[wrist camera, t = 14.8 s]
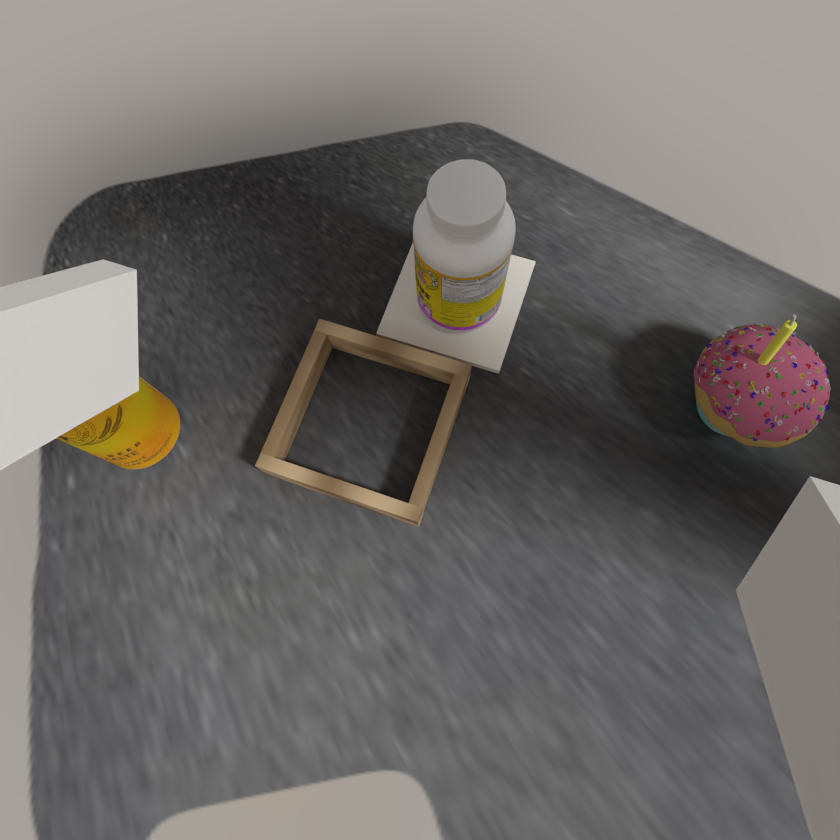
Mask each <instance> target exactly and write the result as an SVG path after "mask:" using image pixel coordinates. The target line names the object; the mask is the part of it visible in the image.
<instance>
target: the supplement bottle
mask: <svg viewBox="0 0 840 840" xmlns="http://www.w3.org/2000/svg"><path fill="white" fill-rule="evenodd" d="M514 238H515V219H514V216H513V213H512V210H511V208H510V206H509V205H508V203H507V202H506V188H505V184H504V181H503V179H502V177H501V176H500V174H499V173H498V172H497V171H496V170H495V169H494V168H492V167H491V166H489V165H488V164H486V163H483V162H481V161H477V160H470V159H465V160H457V161H453V162H450V163H448V164H446V165H444V166H442V167H441V168H439V169H438V170H437V171H436V172H435V173H434V174H433V176H432V177H431V179H430V181H429V183H428V187H427V197H426V198H425V199H424V200H423V202H422V203H421V205H420V206H419V208H418V210H417V212H416V215H415V218H414V222H413V244H414V260H415V278H416V291H417V300H418V304H419V307H420V310H421V312H422V313H423V315H424V316H425V317H426V319H427V320H428V321H429V322H430V323H432V324H433V325H434V326H436V327H437V328H439V329H441V330H444V331H447V332H451V333H467V332H472V331H475V330H477V329H480V328H481V327H483V326H485V325H486V324H487V323H489V322H490V321H491V320H492V318H493V317H494V316H495V315H496V313H497V311H498V309H499V307H500V304H501V300H502V296H503V291H504V286H505V281H506V276H507V272H508V267H509V262H510V257H511V253H512V248H513V244H514Z"/></svg>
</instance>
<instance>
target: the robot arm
mask: <svg viewBox="0 0 840 840" xmlns="http://www.w3.org/2000/svg"><path fill="white" fill-rule="evenodd" d="M137 391H139V368H138V313H137V270H136V269H132V268H129V267H126V266H123V265H119V264H116V263H113V262H110V261H106V260H100V261H96V262H92V263H88V264H85V265H81V266H77V267H73V268H70V269H66V270H62V271H58V272H55V273H51V274H47V275H43V276H40V277H36V278H32V279H29V280H25V281H21V282H17V283H14V284H10V285H6V286H2V287H0V470H1V469H3V468H5V467H7V466H8V465H10V464H12V463H13V462H15V461H17V460H19V459H20V458H22V457H24V456H26V455H27V454H29V453H31V452H33V451H34V450H36V449H38V448H40V447H41V446H43V445H45V444H47V443H48V442H50V441H52V440H54V439H55V438H57V437H59V436H61V435H62V434H64V433H66V432H67V431H69V430H71V429H73V428H74V427H76V426H78V425H80V424H81V423H83V422H85V421H87V420H88V419H90V418H92V417H94V416H95V415H97V414H99V413H100V412H102V411H104V410H106V409H107V408H109V407H111V406H113V405H114V404H116V403H118V402H120V401H121V400H123V399H125V398H127V397H128V396H130V395H132V394H133V393H135V392H137ZM736 593H737V596H738V599H739V603H740V606H741V609H742V613H743V616H744V619H745V622H746V626H747V629H748V632H749V635H750V639H751V642H752V645H753V649H754V652H755V655H756V658H757V662H758V665H759V668H760V671H761V675H762V678H763V681H764V685H765V688H766V691H767V694H768V698H769V701H770V704H771V708H772V711H773V714H774V717H775V721H776V724H777V727H778V730H779V734H780V737H781V740H782V744H783V747H784V750H785V753H786V757H787V760H788V763H789V766H790V770H791V773H792V776H793V780H794V783H795V786H796V789H797V793H798V796H799V799H800V802H801V806H802V809H803V812H804V816H805V819H806V822H807V825H808V829H809V832H810V835H811V838H812V840H840V485H837V484H834V483H831V482H828V481H824V480H821V479H818V478H814V477H811V476H809V478H808V479H807V481H806V483H805V484H804V486H803V487H802V489H801V490H800V492H799V493H798V495H797V497H796V498H795V500H794V501H793V503H792V504H791V506H790V507H789V509H788V510H787V512H786V514H785V515H784V517H783V518H782V520H781V521H780V523H779V524H778V526H777V528H776V529H775V531H774V532H773V534H772V535H771V537H770V538H769V540H768V542H767V543H766V545H765V546H764V548H763V549H762V551H761V552H760V554H759V555H758V557H757V559H756V560H755V562H754V563H753V565H752V566H751V568H750V569H749V571H748V573H747V574H746V576H745V577H744V579H743V580H742V582H741V583H740V585H739V587H738V588H737V590H736Z"/></svg>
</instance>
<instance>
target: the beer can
mask: <svg viewBox="0 0 840 840" xmlns="http://www.w3.org/2000/svg"><path fill="white" fill-rule="evenodd" d="M179 431H180V417H179V414H178V411H177V409H176V407H175V405H174V404H173V403H172V402H171V401H170V400H169V399H168V398H167V397H166V396H164V395H163V394H162V393H160V392H159V391H158V390H157V389H155V388H154V387H153V386H151V385H150V384H149V383H148V382H146V381H145V380H144V379H142V378H141V377H140V376H139V391H137V392H135V393H133V394H132V395H130V396H128V397H127V398H125V399H123V400H121V401H120V402H118V403H116V404H114V405H113V406H111V407H109V408H107V409H106V410H104V411H102V412H100V413H99V414H97V415H95V416H94V417H92V418H90V419H88V420H87V421H85V422H83V423H81V424H80V425H78V426H76V427H74V428H73V429H71V430H69V431H67V432H66V433H64V434H62V435H61V436H59V437H57V439H59V440H61V441H63V442H65V443H68V444H70V445H72V446H74V447H77V448H79V449H81V450H83V451H86V452H88V453H90V454H92V455H95V456H97V457H99V458H101V459H103V460H106V461H108V462H110V463H112V464H115V465H117V466H119V467H122V468H126V469H141V468H145V467H148V466H151V465H153V464H155V463H157V462H159V461H160V460H161V459H163V458H164V457H165V456H166V455H167V454H168V453H169V452H170V451H171V449H172V448H173V446H174V445H175V443H176V441H177V438H178V435H179Z"/></svg>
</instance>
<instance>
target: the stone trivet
mask: <svg viewBox="0 0 840 840" xmlns="http://www.w3.org/2000/svg"><path fill="white" fill-rule="evenodd" d="M535 262H536V261H532V260H529V259H525V258H522V257H518V256H514V255H511V257H510V262H509V267H508V272H507V276H506V281H505V286H504V291H503V296H502V300H501V304H500V307H499V309H498V311H497V313H496V315H495V316H494V317H493V318H492V320H491V321H490V322H489V323H487V324H486V325H485V326H483V327H481V328H480V329H477V330H475V331H472V332H467V333H451V332H447V331H444V330H441V329H439V328H437V327H436V326H434V325H433V324H432V323H430V322H429V321H428V320H427V319H426V317H425V316H424V315H423V313H422V312H421V310H420V307H419V304H418V300H417V291H416V278H415V260H414V244H413V243H412V246H411V248H410V251H409V253H408V256H407V258H406V261H405V263H404V266H403V268H402V271H401V273H400V276H399V278H398V281H397V283H396V286H395V288H394V291H393V293H392V295H391V298H390V300H389V303H388V305H387V308H386V310H385V313H384V315H383V318H382V320H381V323H380V325H379V328H378V330H377V333H376V335H377V336H378V337H381V338H384V339H388V340H391V341H394V342H397V343H401V344H404V345H407V346H411V347H414V348H417V349H420V350H424V351H427V352H430V353H434V354H437V355H440V356H443V357H447V358H450V359H453V360H457V361H460V362H463V363H466V364H470V365H472V366H474V367H478V368H481V369H484V370H487V371H491V372H494V373H497V374H499V372H500V369H501V366H502V363H503V360H504V357H505V354H506V351H507V348H508V345H509V342H510V339H511V336H512V333H513V330H514V327H515V324H516V321H517V318H518V315H519V311H520V308H521V305H522V302H523V299H524V296H525V293H526V290H527V287H528V284H529V281H530V278H531V275H532V272H533V269H534V266H535Z"/></svg>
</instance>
